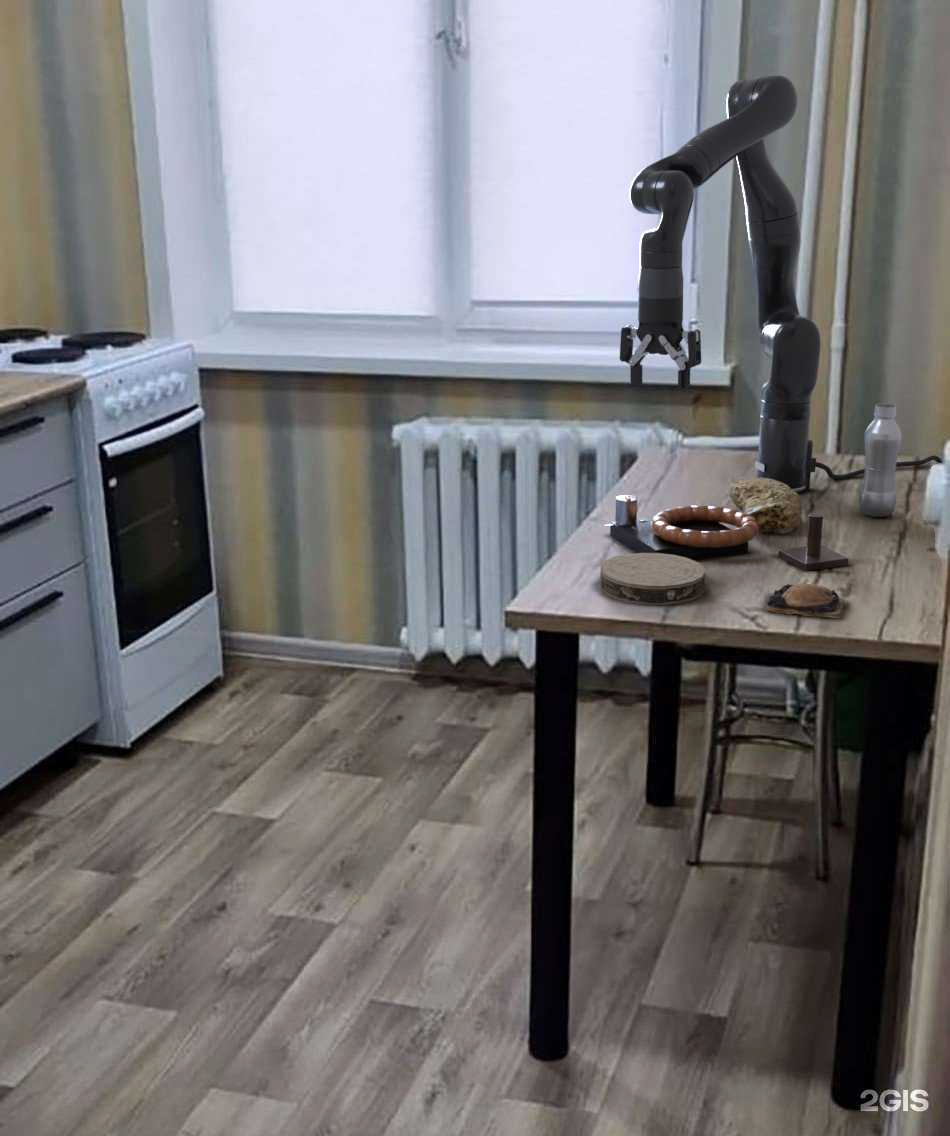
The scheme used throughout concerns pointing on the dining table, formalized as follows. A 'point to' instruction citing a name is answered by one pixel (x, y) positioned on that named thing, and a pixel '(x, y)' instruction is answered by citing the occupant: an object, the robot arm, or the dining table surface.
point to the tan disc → (652, 578)
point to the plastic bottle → (880, 462)
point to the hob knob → (626, 510)
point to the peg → (813, 550)
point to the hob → (647, 542)
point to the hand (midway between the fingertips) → (659, 388)
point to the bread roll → (806, 601)
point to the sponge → (768, 503)
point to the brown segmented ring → (704, 538)
